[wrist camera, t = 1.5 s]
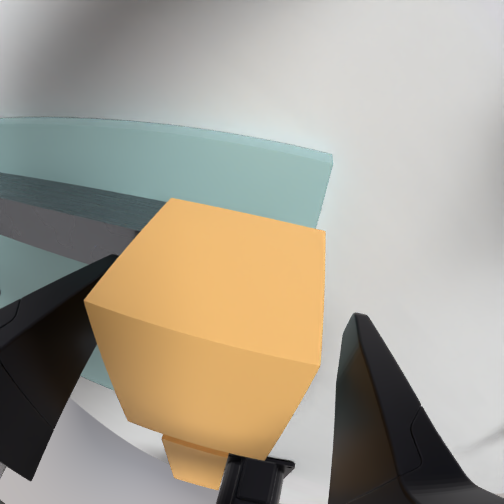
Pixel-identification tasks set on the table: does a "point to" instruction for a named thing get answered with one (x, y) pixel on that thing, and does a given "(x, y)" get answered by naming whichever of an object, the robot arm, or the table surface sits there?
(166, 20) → the table surface
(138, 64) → the table surface
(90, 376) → the board
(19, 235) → the rail
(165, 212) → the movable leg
